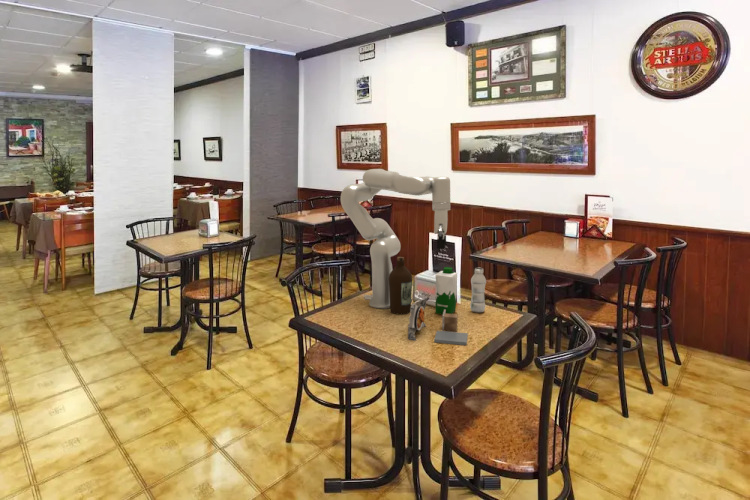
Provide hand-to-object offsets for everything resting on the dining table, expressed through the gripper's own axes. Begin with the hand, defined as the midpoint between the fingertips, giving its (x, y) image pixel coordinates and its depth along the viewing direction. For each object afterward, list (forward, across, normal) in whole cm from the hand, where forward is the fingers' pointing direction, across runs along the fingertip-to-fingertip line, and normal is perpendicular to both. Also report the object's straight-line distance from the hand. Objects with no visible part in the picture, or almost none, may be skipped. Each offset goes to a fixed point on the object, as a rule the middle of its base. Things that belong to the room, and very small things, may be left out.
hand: (441, 246), depth 191 cm
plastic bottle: (+32, -8, +15) cm, 36 cm away
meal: (+31, +22, -8) cm, 39 cm away
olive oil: (+31, -2, -19) cm, 36 cm away
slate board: (+31, +26, +5) cm, 41 cm away
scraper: (+31, +16, +4) cm, 35 cm away
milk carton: (+31, -4, +1) cm, 32 cm away
